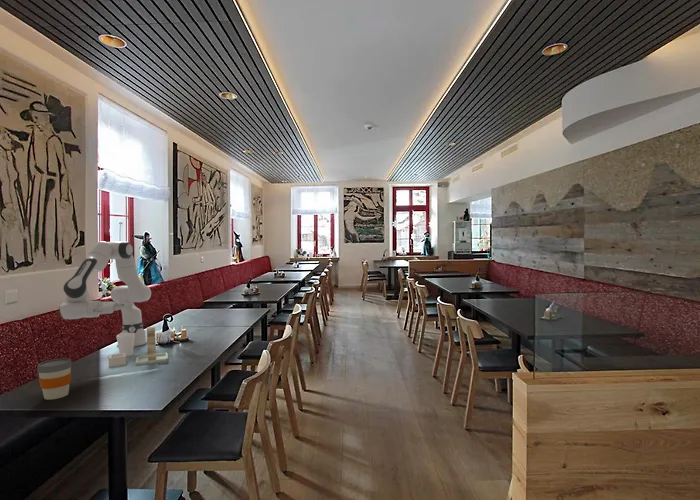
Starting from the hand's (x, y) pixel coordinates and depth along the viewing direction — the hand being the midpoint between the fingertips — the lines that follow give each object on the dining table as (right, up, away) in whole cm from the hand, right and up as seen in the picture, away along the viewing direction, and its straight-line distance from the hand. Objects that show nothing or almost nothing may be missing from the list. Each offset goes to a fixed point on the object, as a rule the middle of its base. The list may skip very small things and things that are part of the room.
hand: (123, 306), depth 232 cm
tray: (+15, -31, +2) cm, 35 cm away
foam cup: (-6, -32, +14) cm, 35 cm away
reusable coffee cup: (-5, -34, -47) cm, 58 cm away
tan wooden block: (+15, -30, +2) cm, 34 cm away
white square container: (-1, -32, -3) cm, 32 cm away
